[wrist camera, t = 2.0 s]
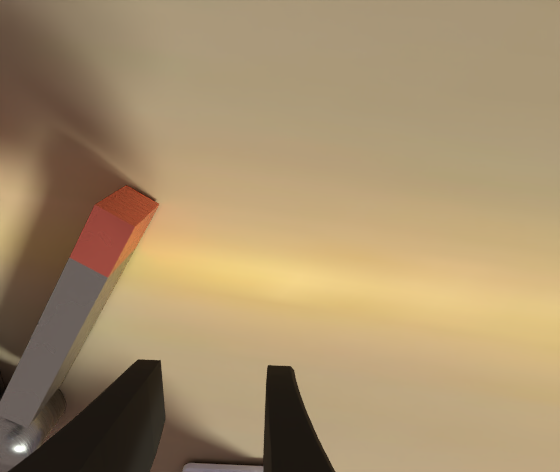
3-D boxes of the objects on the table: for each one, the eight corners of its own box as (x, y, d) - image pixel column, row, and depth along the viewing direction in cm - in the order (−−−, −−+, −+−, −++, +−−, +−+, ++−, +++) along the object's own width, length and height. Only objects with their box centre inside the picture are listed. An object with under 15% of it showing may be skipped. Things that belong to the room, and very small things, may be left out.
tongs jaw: (62, 382, 21) (28, 428, 18) (33, 369, 21) (-6, 413, 18) (159, 204, 17) (134, 227, 14) (126, 184, 17) (94, 204, 14)
